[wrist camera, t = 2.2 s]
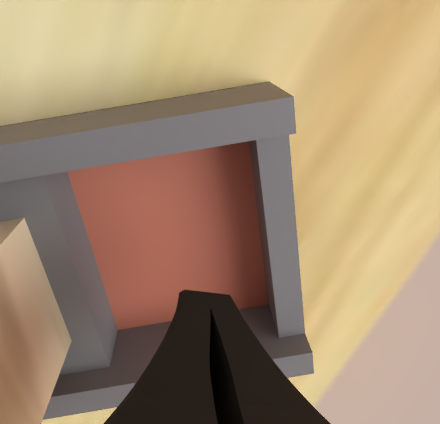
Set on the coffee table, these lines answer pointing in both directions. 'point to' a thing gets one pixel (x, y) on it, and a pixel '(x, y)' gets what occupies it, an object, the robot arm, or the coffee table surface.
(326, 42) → the coffee table surface
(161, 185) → the trap runway
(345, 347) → the coffee table surface
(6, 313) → the maple block
